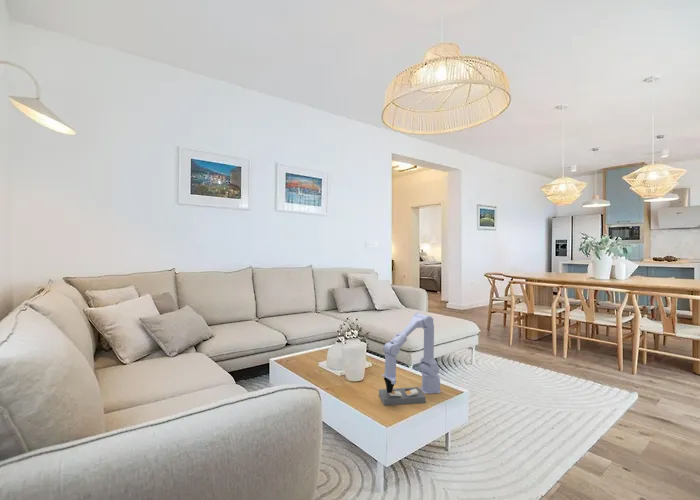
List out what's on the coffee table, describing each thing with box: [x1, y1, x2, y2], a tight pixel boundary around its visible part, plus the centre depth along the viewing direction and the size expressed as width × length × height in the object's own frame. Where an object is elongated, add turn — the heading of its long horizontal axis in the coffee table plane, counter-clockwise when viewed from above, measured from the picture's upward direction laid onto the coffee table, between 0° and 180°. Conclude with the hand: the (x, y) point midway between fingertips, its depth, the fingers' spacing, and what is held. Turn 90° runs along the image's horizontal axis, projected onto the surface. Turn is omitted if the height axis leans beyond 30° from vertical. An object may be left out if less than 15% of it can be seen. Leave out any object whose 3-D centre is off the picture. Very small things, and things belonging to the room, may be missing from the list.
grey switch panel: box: [378, 386, 427, 406], centre depth 180 cm, size 22×12×3 cm, turn 98°
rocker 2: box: [405, 389, 418, 397], centre depth 177 cm, size 6×4×1 cm, turn 98°
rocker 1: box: [389, 391, 402, 396], centre depth 176 cm, size 6×4×1 cm, turn 98°
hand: (389, 392), depth 176 cm, fingers closed, pressing on rocker 1
